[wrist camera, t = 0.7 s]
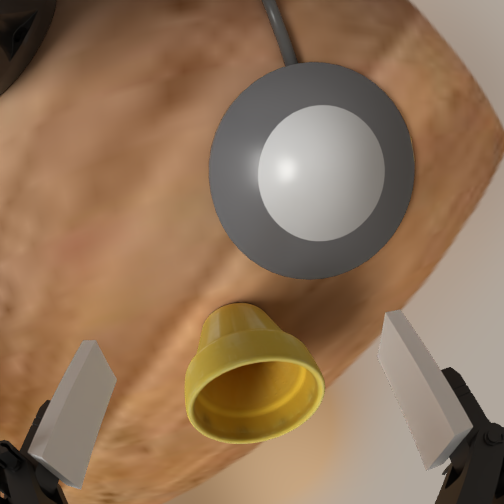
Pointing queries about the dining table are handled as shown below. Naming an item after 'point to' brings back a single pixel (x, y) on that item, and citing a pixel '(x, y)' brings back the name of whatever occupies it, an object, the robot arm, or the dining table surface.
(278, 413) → the plant pot
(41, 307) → the dining table surface
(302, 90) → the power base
